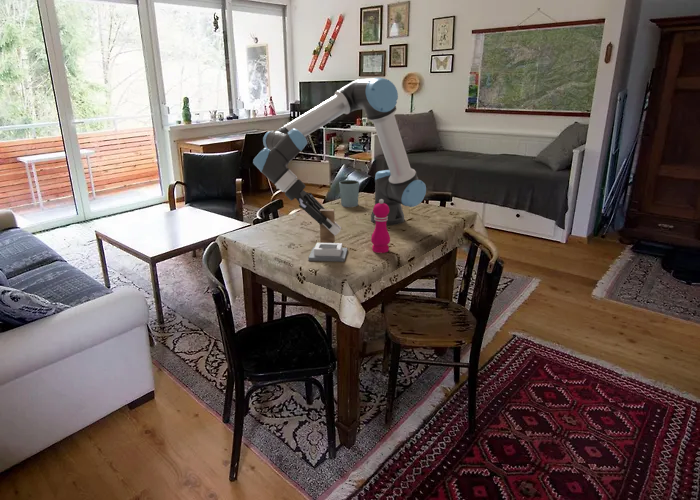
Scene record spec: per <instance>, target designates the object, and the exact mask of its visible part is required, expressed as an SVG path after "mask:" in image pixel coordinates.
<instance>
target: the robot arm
mask: <svg viewBox="0 0 700 500" xmlns="http://www.w3.org/2000/svg"><path fill="white" fill-rule="evenodd" d="M398 99H399V93H398V89H397V87H396V85H395V84H394V83H393V82H392V81H391V80H389V79H387V78H383V77H361V78H358V79H355V80H353V81H351V82H349V83H347V84H346V85H344V86H343V87H341V88H340V89H337V90H336V91H335V92H334V95H332V96H331V97H330V98H328V99H326V100H325V101H322V102H321V103H320V104H317V105H316V106H314V107H313V108H311V109H309V110H308V111H306V112H303V114H300V116H298V117H296V118H294V119H293V120H291V121H289V122H287V123H286V124H284V125H283V126H281V127H279V128H278V129H276V130H270V131H267V132H266V133H265V134H264V136H263V137H262V142H263V147H264V148H263V149H261V150H260V151H259V152H258V154H257V155H256V156H255V157H254V158H253V160H252V164H253V165H254V166H255V167H256V168H257V169H258V170H259V172H260V173H261V174H263V175H264V176H265V177H266V178H267V179H268V180H269V181H270V182H271V183H272V184H273V185H274V186H275V187H276V188H275V189H276V190H280V191H281V192H282V193H284V196H285V197H287V199H289V200H290V201H294V200H295V199H296V200H297V202H298V204H299V205H298V206H299V208H300V209H302V210H303V211H304V212H305V213H306V214H307V215H309V216H310V217H311V218H312V219H313V220H315V222H317V223H318V225H319V226H320V225H321V224H323V225H324V226H325V227H326V228H327V229H328V230H329V231H330V232H331V233H332V234H334V235H335V237H336V236H337V235H338V234H339V233H340V232H341V229H342V226H340V225H339V224H338V222H336V221H335V225H334V224H333V223H332V222H331V221H330V220H329V219H328V218H326V217H325V216H324V215H323V214H322V213H321V212H320V209H326V207H324V206H323V205H322V204H321V203H320V202H319V201H318V200H317V199H316V198H315V197H314V195H313V194H312V193H311V192H307V191H305V190H304V189H305V188H306V184H305V183H304V182H303V181H302V180H301V179H298V176H297V175H296V174H295V173H294V172H293V171H292V170H291V169H289V168H288V164H289V163H290V162H291V161H292V160H294V159H295V158H296V157H297V156H298V155H299V153H300V152H301V151H303V150H304V149H305V147H306V146H307V144H308V140H307V138H306V137H307V136H309V135H310V134H312V133H313V132H315V131H318V130H319V129H320V128H322V127H323V126H325V125H327V124H329V123H330V122H332V121H333V120H335V119H337V118H338V117H340V116H341V115H343V114H345V115H349V114H350V113H352V112H354V111H357V110H363V111H364V112H365V115H366V118H367V120H368V121H369V122H372V123H373V126H374V129H375V132H376V136H377V137H378V141H379V145H380V146H381V150H382V152H383V155H384V158H385V159H384V160H385V161H386V164H387V168H388V169H385V170H384V169H382V170H379V171H377V172H376V173H375V176H374V177H375V178H374V183H375V186H374V188H375V189H374V206H375V205H376V204H378V203H379V200H380V199H383V200H384V203H385V204H387V205H388V207H389V213H388V215H387V216H388V220H387V222H386V226H396V225H399V224H402V223H404V222H405V214H404V211H403V208H402V207H403V206H405V207H408V208H409V207H410V208H414V207H416V206H419V205H420V204H421V203H422V202H423V200H424V198H425V196H426V193H427V187H426V186H427V185H426V183H425V182H424V181H422V180H421V179H419V177H418V173H417V171H416V170H415V169H414V168H412V167H411V165H410V162H409V161H410V160H409V157H408V154H407V151H406V148H405V146H404V142H403V139H402V135H401V133H400V129H399V125H398V122H397V118H396V116H395V114H396V111H397V103H398V102H397V101H398ZM370 214H371V215H370V220H371V223H374V224H376V221H375V220H374V218H375V217H374V216H375V214H374V213H373V210H372V212H371V213H370Z"/></svg>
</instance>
